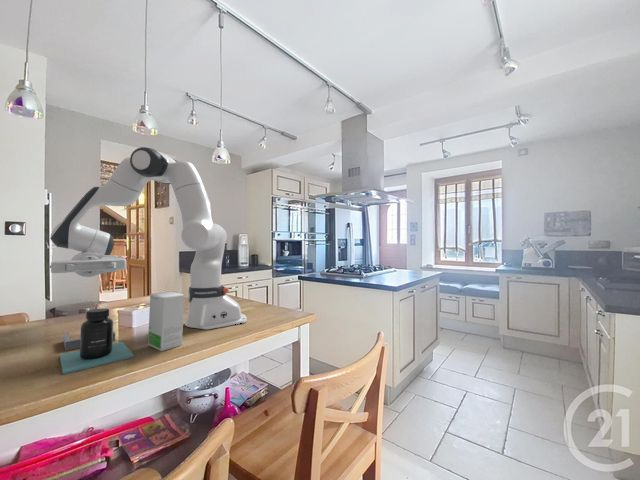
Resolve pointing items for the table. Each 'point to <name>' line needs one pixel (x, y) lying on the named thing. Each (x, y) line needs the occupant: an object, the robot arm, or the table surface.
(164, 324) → the skincare box
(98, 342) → the supplement bottle
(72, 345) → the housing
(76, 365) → the mat
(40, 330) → the table surface
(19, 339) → the table surface
